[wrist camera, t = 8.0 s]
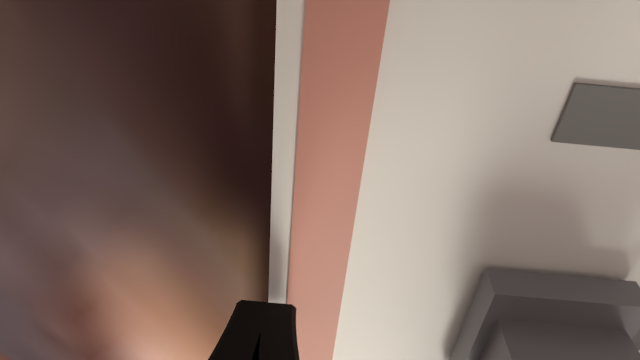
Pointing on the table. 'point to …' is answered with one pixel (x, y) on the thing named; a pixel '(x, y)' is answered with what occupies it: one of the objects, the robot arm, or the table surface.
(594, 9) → the switch board
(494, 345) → the knob
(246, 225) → the table surface
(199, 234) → the table surface
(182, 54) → the table surface
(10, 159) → the table surface
